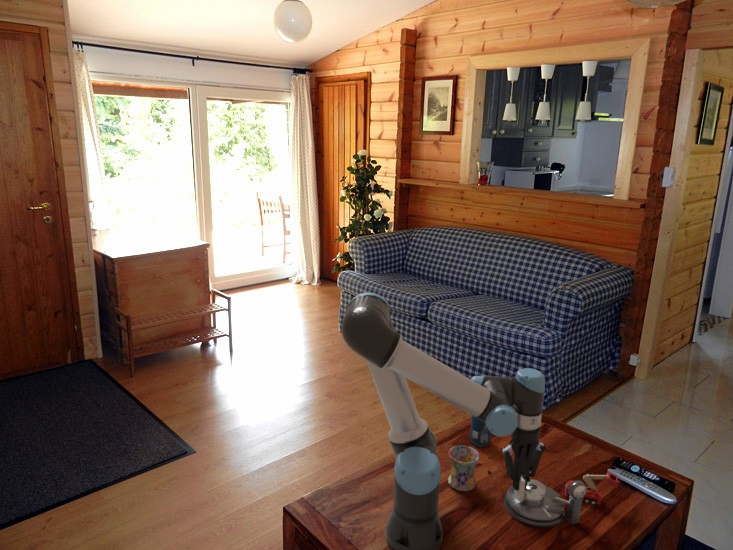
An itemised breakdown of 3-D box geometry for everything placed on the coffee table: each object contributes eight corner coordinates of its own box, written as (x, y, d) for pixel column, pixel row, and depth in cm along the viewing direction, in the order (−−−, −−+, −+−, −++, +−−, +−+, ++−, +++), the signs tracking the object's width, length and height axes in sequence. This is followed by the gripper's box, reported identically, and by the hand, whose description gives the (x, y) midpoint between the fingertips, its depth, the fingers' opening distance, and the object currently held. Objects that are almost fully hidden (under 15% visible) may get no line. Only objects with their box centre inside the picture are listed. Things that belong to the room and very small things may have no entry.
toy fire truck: (564, 491, 168) (568, 463, 166) (613, 503, 163) (618, 474, 161) (563, 497, 165) (567, 469, 163) (613, 510, 160) (618, 481, 158)
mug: (481, 492, 167) (484, 461, 164) (452, 495, 165) (454, 464, 162) (467, 469, 178) (470, 439, 175) (440, 471, 176) (441, 441, 174)
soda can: (477, 434, 198) (480, 404, 195) (494, 442, 193) (497, 411, 190) (465, 441, 193) (468, 410, 190) (482, 450, 188) (484, 418, 185)
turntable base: (523, 532, 151) (523, 528, 150) (493, 493, 166) (494, 489, 166) (577, 522, 155) (578, 518, 155) (543, 485, 171) (544, 481, 170)
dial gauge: (563, 526, 153) (568, 486, 150) (552, 513, 158) (557, 475, 155) (582, 522, 155) (588, 483, 152) (571, 510, 160) (577, 472, 156)
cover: (526, 510, 155) (528, 496, 154) (514, 494, 162) (515, 480, 161) (549, 506, 157) (550, 492, 156) (535, 490, 163) (537, 477, 162)
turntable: (524, 526, 151) (526, 509, 149) (496, 490, 166) (498, 474, 164) (575, 517, 155) (578, 500, 153) (543, 482, 170) (545, 467, 168)
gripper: (511, 434, 147) (504, 510, 153) (554, 428, 150) (546, 503, 156) (498, 420, 154) (491, 493, 160) (539, 414, 157) (531, 486, 163)
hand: (518, 498), depth 158 cm, fingers closed
